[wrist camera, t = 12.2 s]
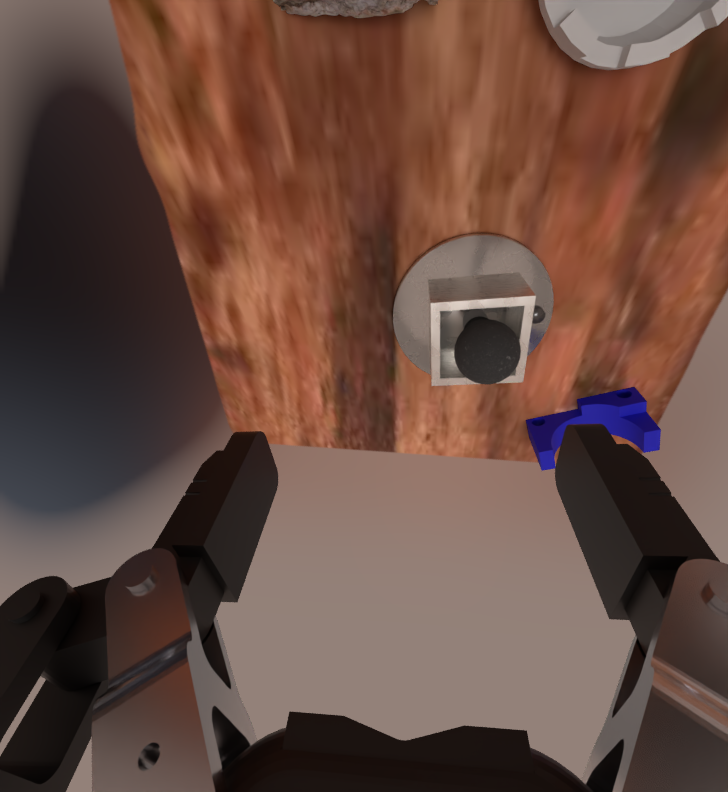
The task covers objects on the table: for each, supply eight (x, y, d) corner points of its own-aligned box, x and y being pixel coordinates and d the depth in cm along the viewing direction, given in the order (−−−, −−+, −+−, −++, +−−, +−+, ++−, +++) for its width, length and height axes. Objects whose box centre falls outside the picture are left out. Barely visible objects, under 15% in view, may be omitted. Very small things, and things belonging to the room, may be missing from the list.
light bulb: (477, 278, 37) (500, 327, 29) (512, 315, 39) (543, 369, 31) (434, 317, 40) (444, 371, 32) (469, 349, 42) (487, 407, 34)
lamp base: (387, 241, 37) (384, 263, 31) (564, 224, 35) (594, 245, 29) (397, 379, 46) (396, 416, 41) (538, 373, 44) (557, 411, 38)
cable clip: (633, 385, 44) (661, 418, 39) (633, 415, 46) (659, 449, 42) (523, 409, 47) (537, 442, 43) (528, 436, 50) (541, 470, 45)
